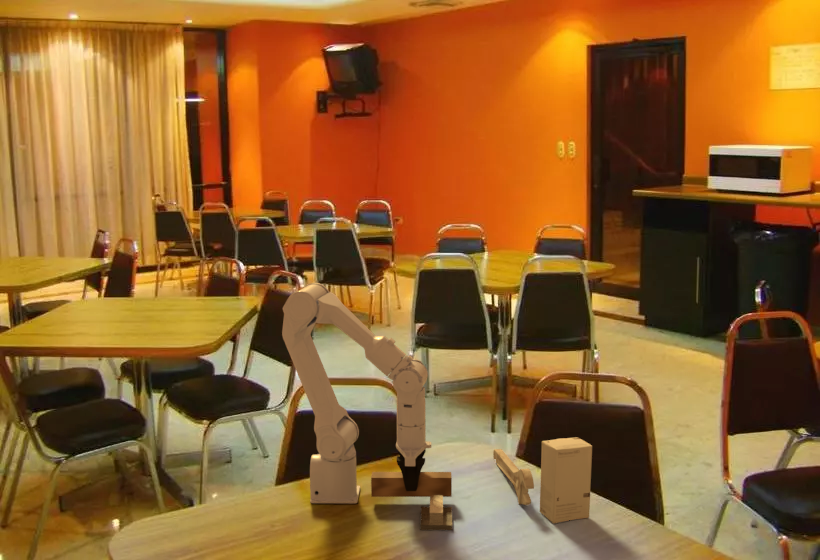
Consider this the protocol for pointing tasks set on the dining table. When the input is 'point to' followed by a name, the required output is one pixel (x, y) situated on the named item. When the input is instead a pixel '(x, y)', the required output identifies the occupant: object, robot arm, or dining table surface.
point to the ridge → (436, 515)
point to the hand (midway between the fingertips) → (411, 486)
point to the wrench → (515, 476)
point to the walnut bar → (427, 485)
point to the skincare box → (565, 479)
